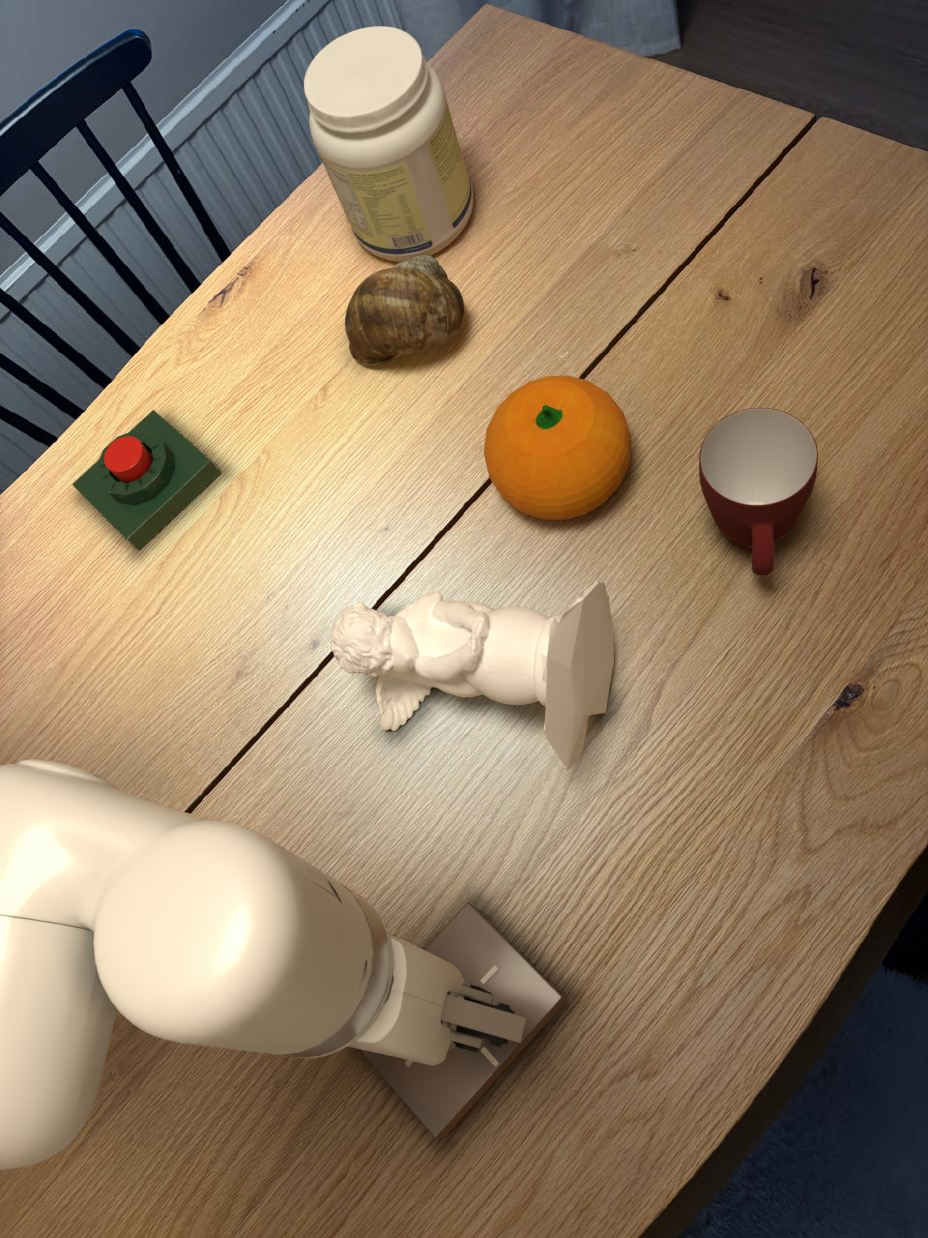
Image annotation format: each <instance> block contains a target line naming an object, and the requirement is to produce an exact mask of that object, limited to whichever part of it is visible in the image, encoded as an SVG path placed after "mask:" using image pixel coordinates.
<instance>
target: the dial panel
mask: <svg viewBox="0 0 928 1238" xmlns="http://www.w3.org/2000/svg"><path fill="white" fill-rule="evenodd" d="M423 950H425V951H427V952H429V953H431V954H433V955H435V956H437V957H439V958H441V959H443V960H445V961H447V962H449V963H451V964H452V965H454V966H455V967H456V968H457V969H458V970H459V971H460V973H461V975H462V977H463V979H464V983H465V984H467V985H469V986H470V985H475V986H478V987H481V988H483V989H484V990H486V991H488V992H490V993H492V995H494V1000H493V1004H492V1005H494V1006H495V1005H498V1004H499V1003H503V1004H507V1005H509V1006H510V1009H512V1011H515V1015H519V1016H522V1017H525V1018H527V1023H526V1027H525V1031H524V1036H523V1040H522V1043H518V1042H514V1041H510V1040H508V1044H504V1045H503V1044H501V1047H499V1046H495V1045H492V1044H489V1040H487V1039H485V1038H482V1039H484V1041H483V1045H482V1049H480V1048H479V1050H478V1052H473V1051H469V1050H465V1049H461V1050H458V1051H448V1052H447V1055H446V1057H445V1060H444V1061H442V1062H441V1063H439V1064H437V1065H433V1066H432V1065H427V1064H423V1063H419V1062H415V1061H411V1060H407V1059H402V1058H398V1057H394V1056H389V1055H385V1054H380V1053H375V1052H371V1051H366V1050H361V1049H358V1051H359V1052H360V1053H361V1055H363V1057H364V1058H365V1059H366V1060H367V1061H368V1062H369V1064H370V1065H371V1066H372V1067H373V1068H374V1069H375V1071H376V1072H377V1073H378V1074H379V1075H380V1076H381V1077H382V1079H383V1080H384V1081H385V1082H386V1083H387V1084H388V1086H389V1087H390V1088H391V1089H392V1090H393V1091H394V1093H395V1094H396V1095H397V1096H398V1098H400V1100H401V1101H402V1102H403V1103H404V1104H405V1105H406V1106H407V1108H408V1109H409V1111H411V1112H412V1114H413V1115H414V1116H415V1117H416V1118H417V1120H418V1121H419V1122H420V1123H421V1124H422V1125H423V1126H424V1128H425V1129H426V1130H427V1131H428V1132H429V1134H430V1135H431V1136H432V1137H433V1138H434V1139H444V1138H446V1137H447V1136H448V1135H449V1134H450V1132H451V1131H452V1130H453V1129H454V1128H455V1127H456V1126H457V1124H459V1123H460V1121H461V1120H462V1119H463V1118H465V1116H466V1115H467V1113H468V1112H469V1111H471V1109H472V1108H473V1107H474V1106H475V1105H476V1103H478V1101H479V1100H480V1099H481V1098H482V1097H483V1096H484V1095H485V1093H486V1092H487V1091H488V1090H489V1089H490V1088H491V1087H492V1086H493V1085H494V1083H496V1081H497V1080H498V1079H499V1078H500V1077H501V1076H502V1075H503V1074H504V1073H505V1071H506V1070H508V1068H509V1067H510V1066H511V1065H512V1063H514V1061H515V1060H517V1058H518V1057H519V1056H520V1055H521V1053H522V1052H523V1051H524V1050H525V1049H526V1048H527V1047H528V1046H529V1045H530V1044H531V1042H532V1041H533V1040H534V1039H535V1038H537V1036H538V1035H539V1034H540V1033H541V1031H542V1030H543V1029H544V1028H545V1027H546V1025H548V1023H549V1022H551V1020H553V1018H554V1017H555V1016H556V1014H558V1012H559V1011H560V1010H561V1009H562V1008H563V1007H564V1006H565V1004H567V1003H568V999H567V997H566V996H564V995H563V994H562V993H561V992H560V990H558V989H557V988H556V987H555V985H553V983H552V982H550V981H549V980H548V979H547V978H546V977H545V976H544V975H543V974H542V973H541V972H540V971H539V969H538V968H537V967H536V966H534V964H532V963H531V961H529V959H528V958H526V957H525V955H523V954H522V953H521V952H520V950H519V949H518V948H517V947H515V945H514V944H513V943H512V942H511V941H510V940H509V939H508V938H507V937H506V936H504V934H503V933H502V932H501V931H500V930H499V929H498V928H497V927H496V926H495V925H494V924H493V923H492V922H491V921H490V920H489V919H488V918H487V917H486V916H485V915H484V914H483V913H482V912H481V911H480V910H479V908H477V907H476V906H474V905H473V904H472V903H471V902H469V901H468V902H467V903H465V905H463V907H462V908H461V909H460V910H459V911H458V912H457V913H456V915H454V917H453V918H452V919H451V920H450V921H449V922H448V923H447V924H446V925H445V926H444V928H442V929H441V931H440V932H438V934H437V935H436V936H435V937H434V938H433V939H432V940H431V941H430V942H429V944H428V945H427V946H426V947H425V948H423Z"/></svg>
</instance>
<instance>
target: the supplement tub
mask: <svg viewBox="0 0 928 1238" xmlns="http://www.w3.org/2000/svg"><path fill="white" fill-rule="evenodd" d="M303 90H304V91H303V92H304V96H305V98H306V100H307V106H308V109H309V119H308V120H309V132H310V136H311V139H312V142H313V145H314V147H315V148H316V150H317V153H318V155H319V157H320V160H321V162H322V164H323V167H324V169H325V171H326V174H327V176H328V178H329V180H330V182H331V184H332V188H333V189H334V192H335V195H336V196H337V198H338V201H339V203H340V205H341V207H342V210H343V212H344V214H345V216H346V219H347V222H348V223H349V226H350V229H351V231H352V234H353V236H354V237H355V239H356V240H357V242H359V244H360V245H361V246H362V247H363V248H364V249H365V250H366V251H368V252H369V253H370V254H372V255H374V256H375V257H377V258H381V259H383V260H387V261H391V262H398V263H400V262H403V261H407V260H412V259H413V258H414V257H417V256H422V255H428V256H431V257H432V256H433V255H434V254H437V253H438V252H441V251H442V250H444V249H445V248H446V247H448V246H449V245H450V244H451V243H453V242H454V241H455V240H456V239H457V238H458V237H459V236H460V235H461V233H462V232H463V231H464V229H465V228H466V226H467V224H468V222H469V219H470V218H471V215H472V211H473V207H474V191H473V190H474V189H473V184H472V182H471V180H470V176H469V172H468V169H467V166H466V163H465V159H464V156H463V152H462V150H461V146H460V142H459V139H458V135H457V131H456V129H455V125H454V121H453V118H452V114H451V110H450V107H449V104H448V100H447V97H446V96H447V95H446V90H445V88H444V85H443V83H442V80H441V79H440V77H439V75H438V74H437V72H436V71H435V70H434V68H432V66H431V65H429V63H427V60H426V58H425V56H424V55H423V53H422V50H421V47H420V44H419V43H418V41H417V39H415V38H414V37H413V36H412V35H411V34H410V33H408V32H407V31H404V30H403V29H400V28H396V27H393V26H384V25H383V26H382V25H381V26H379V25H377V26H367V27H363V28H362V27H361V28H358V29H356V30H352V31H350V32H347V33H345V34H343V35H341V36H339V37H337V38H335V39H334V40H332V41H331V42H329V43H328V44H327V45H325V46H324V47H323V48H322V49H321V50H320V51H319V52H318V53H317V54H316V55H315V56H314V58H313V60H312V61H311V62H310V63H309V66H308V67H307V69H306V72H305V75H304V80H303Z"/></svg>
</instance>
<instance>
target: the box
mask: <svg viewBox="0 0 928 1238" xmlns="http://www.w3.org/2000/svg"><path fill="white" fill-rule="evenodd" d="M127 436H130V437H134V438H137V439H138V440H139V441H140V442H141V443H142V444H143V445H144V447H145V448H146V449H147V450H148V451H149V452H150V454H151V459H152V461H151V466H150V468H149V470H148V471H147V472H146V473H145V474H144V475H143V476H142V477H141V478H140V479H138V480H135V481H132V482H124V481H121V480H119V479H118V478H117V477H116V476H115V475H114V474H113V473H112V472H111V471H110V470H109V469H108V468H107V467H106V465H105V462H104V456H105V452H106V450H107V449H108V447H109V446H110V445H111V444H112V443H113V442H114V441H116V440H117V439H119V438H122V437H127ZM221 473H222V472H221V471H220V470H219V468H217V467H216V465H215V464H214V462H213V461H212V460H211V459H210V458H209V457H207V456H206V454H204V453H203V452H202V451H201V450H200V449H199V448H198V447H196V446H195V445H194V444H193V443H192V442H191V441H189V440H188V439H187V438H186V437H185V436H184V435H183V434H182V433H181V432H179V431H178V430H177V429H176V428H175V427H174V426H173V425H171V424H170V423H169V422H168V421H167V420H166V419H165V418H163V416H161V415H160V414H159V413H158V412H157V411H156V410H154V409H152V410H151V411H150V412H149V413H148V414H147V415H146V416H145V417H144V418H143V419H141V420H140V421H139V422H138V423H137V424H135V426H134V427H133V428H132V429H130V430H129V431H128V432H127V433H124V434H121V435H118V436H116V437H115V438H114V439H113V440H112V441H111V442H110V443H109V444H108V445H106V446H105V447H104V448H103V450H102V451H101V454H100V456H99V458H98V459H97V461H96V462H95V463H93V464H92V465H91V466H90V467H89V468H88V469H87V470H86V471H85V472H84V473H82V474H81V475H80V476H79V477H78V478H77V479H76V480H75V481H74V482H73V483H72V486H73V488H75V489H76V490H77V492H79V493H80V495H81V496H82V497H83V498H84V499H86V501H88V502H89V503H90V505H92V507H93V508H95V509H96V510H97V512H98V513H99V514H100V515H102V516H103V517H104V519H106V520H107V522H109V523H110V524H111V525H112V526H113V527H114V528H115V529H116V530H117V532H118V533H120V534H121V535H122V536H123V538H124V539H125V540H126V541H128V542H129V543H130V544H131V545H132V546H133V547H134V548H135V549H136V550H137V551H141V550H142V549H143V548H144V547H145V546H146V545H147V544H148V543H149V542H150V541H151V540H153V539H154V537H156V535H158V534H159V533H160V532H161V531H162V530H163V529H164V528H165V527H166V526H167V525H168V524H169V523H170V522H172V520H174V518H176V517H177V516H178V515H179V514H180V513H181V512H183V510H184V509H185V508H186V507H187V506H188V505H189V504H190V503H192V501H194V500H195V499H196V498H197V497H198V496H199V495H200V494H201V493H202V492H203V491H205V490H206V488H208V486H209V485H211V484H212V483H213V482H214V481H215V480H216V479H217V478H218V477H219V476H220V475H221Z"/></svg>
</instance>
